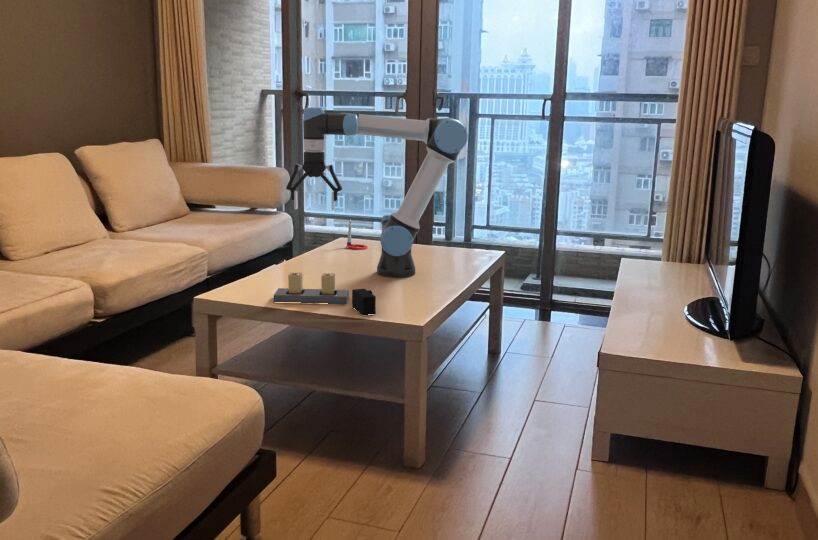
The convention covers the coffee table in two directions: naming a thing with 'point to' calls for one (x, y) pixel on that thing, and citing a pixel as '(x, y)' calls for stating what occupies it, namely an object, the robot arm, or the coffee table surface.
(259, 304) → the coffee table surface
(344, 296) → the rail
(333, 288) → the beige upright block
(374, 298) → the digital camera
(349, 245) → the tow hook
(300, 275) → the tan tall block
